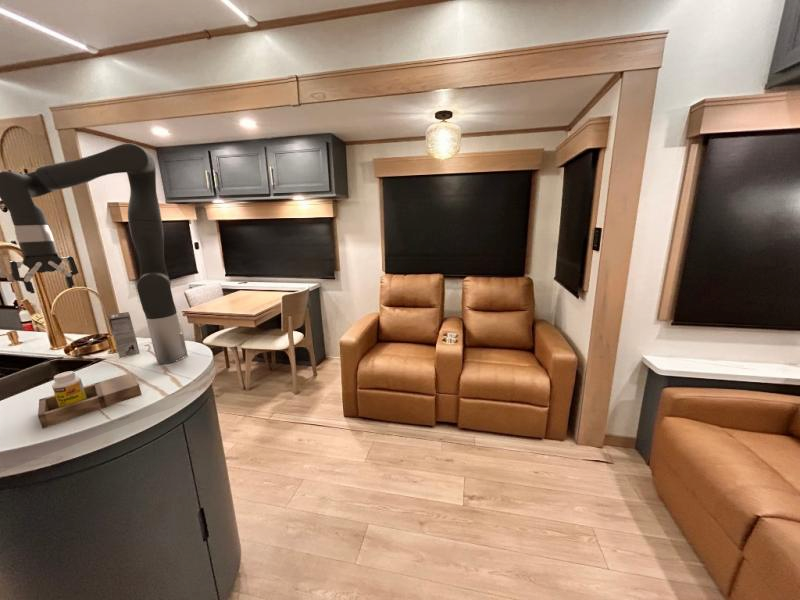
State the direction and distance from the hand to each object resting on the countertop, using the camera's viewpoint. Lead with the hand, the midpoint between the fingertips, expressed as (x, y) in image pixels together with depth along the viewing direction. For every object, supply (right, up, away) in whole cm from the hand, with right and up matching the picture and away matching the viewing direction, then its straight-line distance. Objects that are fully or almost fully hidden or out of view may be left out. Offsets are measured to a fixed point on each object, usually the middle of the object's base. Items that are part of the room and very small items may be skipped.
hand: (52, 290), depth 103 cm
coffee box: (+4, -25, +25) cm, 35 cm away
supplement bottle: (+23, -34, -15) cm, 43 cm away
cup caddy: (+25, -33, -12) cm, 43 cm away
